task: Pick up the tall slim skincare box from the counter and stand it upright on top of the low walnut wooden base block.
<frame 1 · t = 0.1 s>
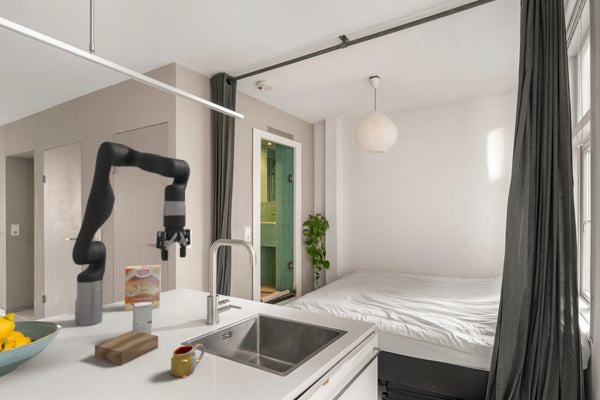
hand: (174, 258, 122), 29 cm above the worktop, tool pointing down, fingers open, 8 cm apart
mug: (190, 369, 101), on the worktop
base: (127, 352, 111), on the worktop
skincare box: (142, 337, 125), on the worktop
coffeecake box: (142, 308, 160), on the worktop
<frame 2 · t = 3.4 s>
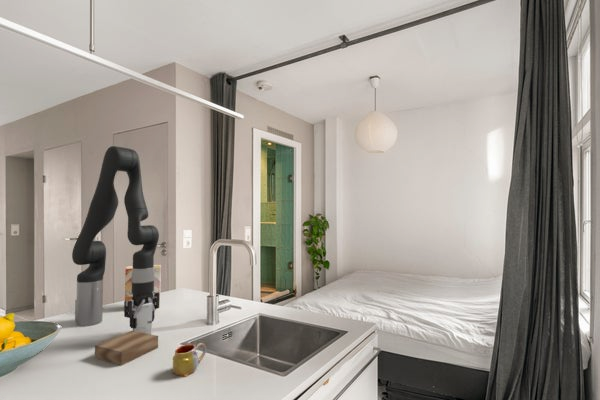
hand: (142, 324, 125), 4 cm above the worktop, tool pointing down, fingers closed on skincare box, 7 cm apart
skincare box: (142, 337, 125), on the worktop, touching gripper
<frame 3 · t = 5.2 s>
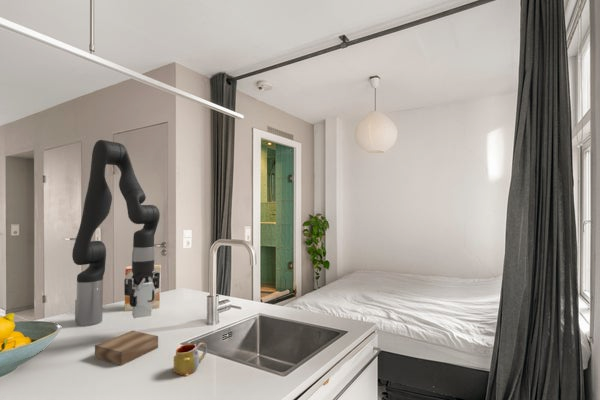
hand: (142, 303, 125), 12 cm above the worktop, tool pointing down, fingers closed on skincare box, 7 cm apart
skincare box: (142, 316, 125), point 7 cm above the worktop, touching gripper
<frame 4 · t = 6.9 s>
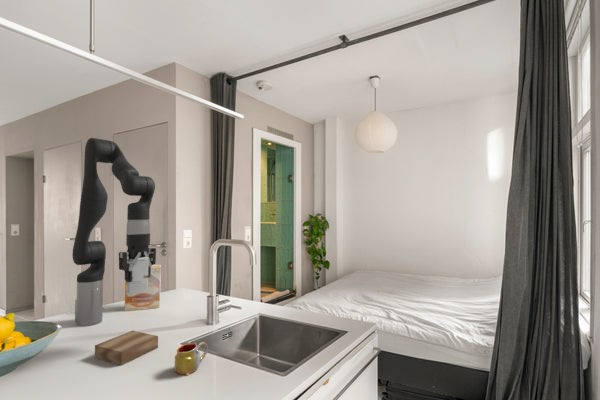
hand: (138, 279, 119), 22 cm above the worktop, tool pointing down, fingers closed on skincare box, 7 cm apart
skincare box: (138, 292, 119), point 18 cm above the worktop, touching gripper
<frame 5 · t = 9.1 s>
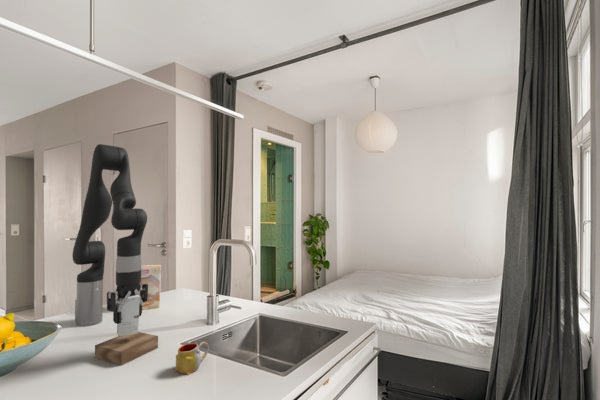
hand: (128, 319, 111), 11 cm above the worktop, tool pointing down, fingers closed on skincare box, 7 cm apart
skincare box: (128, 333, 111), point 6 cm above the worktop, touching gripper
when the fingers open (10 cm above the worktop, at t = 10.3 s): skincare box drops 1 cm, resting on base.
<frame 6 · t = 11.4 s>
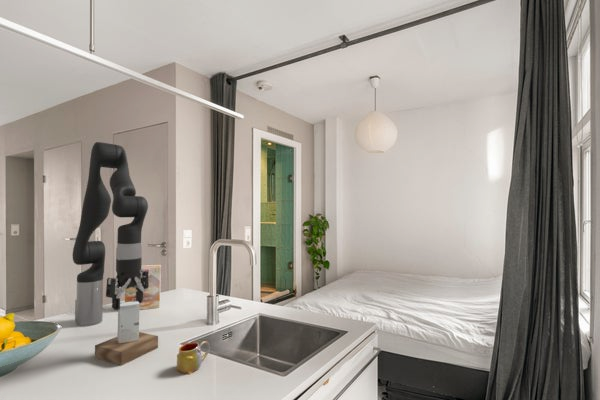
hand: (128, 306, 111), 15 cm above the worktop, tool pointing down, fingers open, 8 cm apart
skincare box: (128, 340, 112), point 4 cm above the worktop, touching base, gripper
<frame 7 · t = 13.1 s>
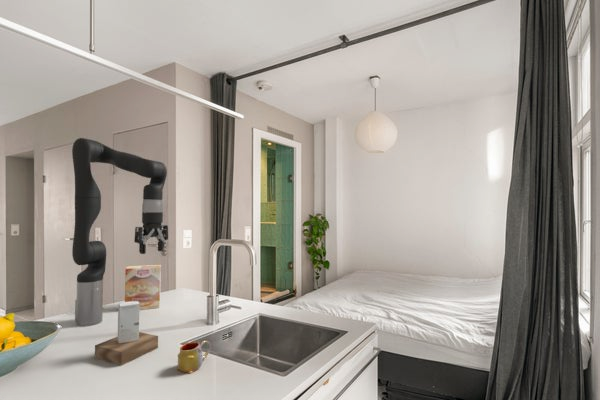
hand: (151, 252, 134), 30 cm above the worktop, tool pointing down, fingers open, 8 cm apart
skincare box: (128, 340, 112), point 4 cm above the worktop, touching base
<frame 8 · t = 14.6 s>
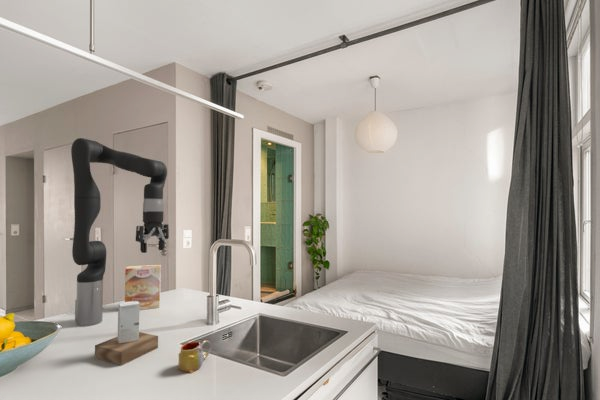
hand: (152, 251, 134), 30 cm above the worktop, tool pointing down, fingers open, 8 cm apart
at the end: skincare box inside the target area on the base (0.3 cm from its centre), point 3.8 cm above the base's base; skincare box tilted 0°; the gripper is holding nothing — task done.
